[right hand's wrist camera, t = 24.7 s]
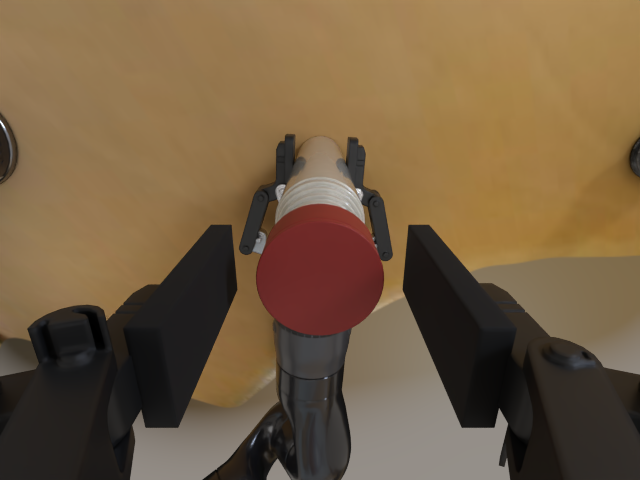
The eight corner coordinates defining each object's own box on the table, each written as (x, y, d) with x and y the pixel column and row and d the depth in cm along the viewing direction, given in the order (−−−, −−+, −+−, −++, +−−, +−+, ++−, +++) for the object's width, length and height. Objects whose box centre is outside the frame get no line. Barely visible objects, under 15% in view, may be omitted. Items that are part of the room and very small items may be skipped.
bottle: (299, 134, 36) (258, 207, 12) (344, 137, 36) (392, 217, 12) (296, 179, 38) (255, 321, 14) (339, 182, 38) (374, 329, 14)
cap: (317, 178, 13) (317, 193, 11) (397, 253, 14) (410, 279, 12) (242, 258, 14) (229, 284, 12) (322, 322, 15) (322, 356, 13)
